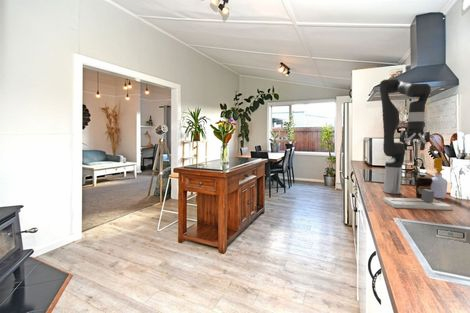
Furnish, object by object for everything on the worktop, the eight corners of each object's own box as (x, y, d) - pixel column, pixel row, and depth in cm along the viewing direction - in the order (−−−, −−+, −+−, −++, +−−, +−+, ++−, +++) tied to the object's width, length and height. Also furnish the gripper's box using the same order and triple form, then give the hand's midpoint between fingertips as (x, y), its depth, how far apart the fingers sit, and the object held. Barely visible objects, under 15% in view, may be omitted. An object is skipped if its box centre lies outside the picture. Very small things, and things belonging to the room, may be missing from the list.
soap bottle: (430, 197, 152) (433, 158, 150) (425, 194, 161) (428, 156, 158) (448, 199, 149) (452, 158, 146) (442, 195, 157) (446, 157, 155)
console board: (382, 200, 145) (382, 197, 145) (434, 202, 142) (434, 198, 142) (394, 207, 132) (394, 203, 132) (451, 209, 129) (451, 205, 129)
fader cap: (421, 199, 139) (422, 188, 138) (426, 199, 138) (427, 188, 138) (427, 202, 134) (428, 190, 133) (433, 202, 133) (434, 191, 133)
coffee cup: (434, 201, 145) (436, 179, 143) (418, 200, 146) (420, 178, 145) (426, 197, 153) (428, 176, 152) (411, 196, 155) (413, 175, 154)
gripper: (425, 121, 139) (423, 149, 141) (398, 121, 141) (396, 149, 143) (434, 120, 132) (431, 150, 134) (405, 120, 134) (403, 150, 135)
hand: (413, 150), depth 138 cm, fingers open, 8 cm apart
